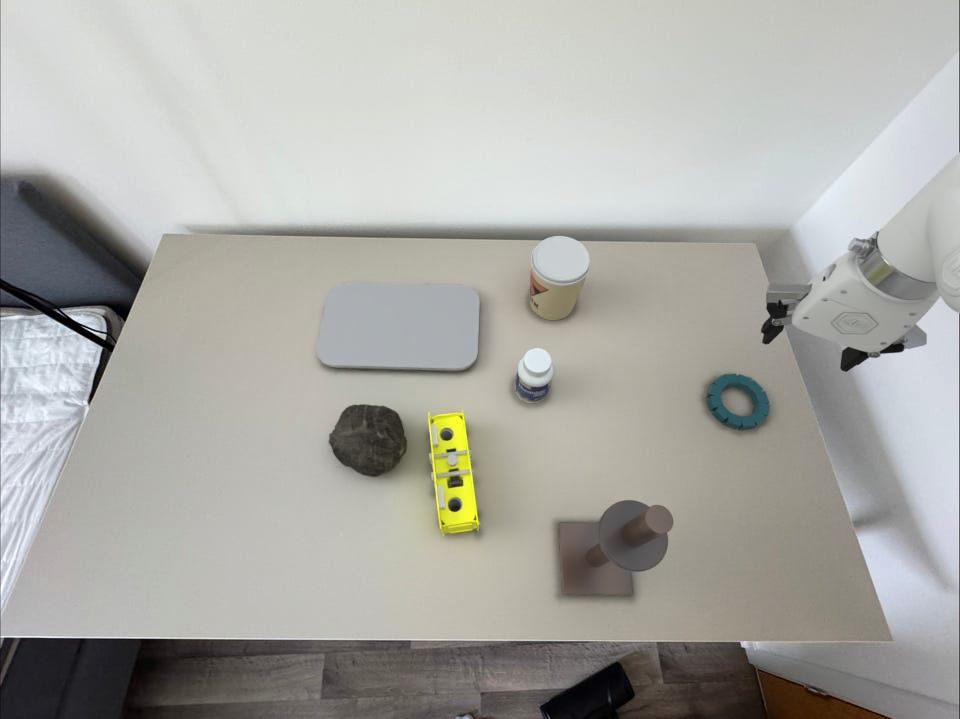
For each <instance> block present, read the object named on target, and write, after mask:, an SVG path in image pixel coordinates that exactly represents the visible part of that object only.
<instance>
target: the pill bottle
mask: <svg viewBox="0 0 960 719" xmlns="http://www.w3.org/2000/svg"><path fill="white" fill-rule="evenodd" d="M552 361H553V360H552V356H551V354H550V353H549V351H547V350H545V349H544V348H541V347H535V348H531V349H529V350H528V351H526V353H525V354H524V356H523V357H521V359H520V360H519V362H518V365H517V370H516V376H515V381H514V391H515V393H516V394H515V395H516V396H517V397H518V398H519V399H520V400H521V401H523V402H525V403H528V404H538V403H541V402H542V401H544V400H545V398H546V397H547V396H548V393H549V391H550V388H551V385H552V381H553V378H554V374H555V366H554V363H553V362H552Z"/></svg>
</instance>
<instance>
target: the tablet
mask: <svg viewBox="0 0 960 719" xmlns="http://www.w3.org/2000/svg"><path fill="white" fill-rule="evenodd" d="M480 302H481V301H480V295H479V293H478V291H477V290H476V289H474V288H473V287H471V286H469V285H466V284H448V283H447V284H444V283H409V282H407V283H406V282H404V283H403V282H368V281H367V282H365V281H364V282H363V281H362V282H361V281H356V282H355V281H345V282H340V283H337V284H336V285H334V286H333V287H332V288H331V289H330V290H329V291H328V293H327V296H326V299H325V305H324V309H323V314H322V319H321V323H320V327H319V329H320V330H319V333H318V337H317V338H318V339H317V342H316V348H315V351H316V352H315V353H316V356H317V358H318V359H319V361H320V362H321V364H323V365H325V366H328V367H331V368H335V369H364V370H366V369H367V370H400V371H402V370H404V371H405V370H406V371H437V372H439V371H440V372H462V371H465V370H467V369H469V368H470V367H472V366H473V365H474V363H476V361H477V358H478V355H479V334H480V333H479V332H480V331H479V330H480V329H479V328H480Z"/></svg>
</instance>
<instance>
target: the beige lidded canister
mask: <svg viewBox="0 0 960 719" xmlns="http://www.w3.org/2000/svg"><path fill="white" fill-rule="evenodd" d="M591 268H592V258H591V255H590V253H589V250H588V248H586V246H585V245H584V244H583V243H581V242H580V241H579V240H577V239H576V238H573V237H570V236H565V235H554V236H550V237H547V238H545V239H543V240H542V241H540V242H539V243H538V244H537V245H535V247H534V248H533V250H532V252H531V255H530V281H529V282H530V283H529V305H530V307H531V309H532V311H533V313H534V314H536V315H537V316H538V317H539V318H542V319H544V320H548V321H558V320H562V319H564V318H566V317H568V316H569V315H570V314H571V313H572V311H573V309H574V307H575V305H576V303H577V301H578V298H579V296H580V293H581V292H582V289H583V286H584V284H585V282H586V278H587V276H588V275H589V273H590V271H591Z"/></svg>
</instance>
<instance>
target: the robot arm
mask: <svg viewBox="0 0 960 719" xmlns="http://www.w3.org/2000/svg"><path fill="white" fill-rule="evenodd" d="M847 251H848V252H846V253H844V254H843V255H842V256H840V257H838V258H837V259H835V260H834V261H833V262H831V263H829V264H828V265H827V266H826V267H824V268H823V269H822V270H821V271H820V272H819V273H817V274H816V275H815V276H813V278H812V279H811V280H809V281H808V283H806V284H775V283H774V284H769V285H768V286H767V289H766V294H765V298H766V299H765V304H766V306H765V307H766V308H765V310H766V311H767V312H768V314H769V317H768V318H767V319H766V320H765V321H764V323H763V324H762V326H761V328H760V333H761V334H763V337H762V341H761V343H762V344H763V345H770V343H772V342H773V341H774V340H775V339H776V338H778V336H779V335H780V334H781V333H782V332H783V331H784V328H785V326H788V325H792V326H794V327H795V328H796V329H797V330H800V331H801V332H804V333H805V334H809V335H812V336H815V337H818V338H820V339H824V340H826V341H830V342H833V343H836V344H838V345H842V346H845V348H844V349H843V350H842V351H841V357H840V366H839V369H840V370H841V371H842V372H845V373H847V372H849V371H850V370H851V369H853V368H855V367H857V366H859V365H861V364H863V363H864V362H865V361H867V360H868V359H869V358H872V359H877V358H880V357H881V355H885V354H887V355H888V354H899V353H903V352H904V351H905V350H906V349H907V350H910V349H915V348H920V347H924V346H926V345H927V344H928V343H927V342H928V334H927V333H926V332H925V331H924V330H923V329H922V328H921V327H920V326H919V325H917V323H919V321H920V320H922V318H923V317H924V316H925V315H927V313H928V312H929V311H930V310H931V308H933V306H934V305H935V304H936V303H937V302H938V300H939V299H940V298H941V299H942V301H943V302H944V303H945V305H946V306H947V307H948V308H950V309H951V310H952V311H954V312H956V313H958V314H960V152H958V153H957V154H956V155H955V156H954V157H952V158H951V159H950V160H949V161H948V163H946V165H944V166H943V167H942V168H941V169H940V170H939V171H938V173H937V174H935V175H934V176H933V177H932V178H931V179H930V180H929V181H928V182H927V183H926V184H925V185H924V186H923V187H922V188H921V189H920V190H919V191H918V192H917V193H916V194H915V195H914V196H913V197H912V198H911V199H910V200H909V201H908V202H907V203H905V205H904V206H903V207H902V208H901V209H900V210H899V211H898V212H897V213H896V214H894V216H892V218H891V219H890V220H889V221H888V222H887V223H886V224H885V225H884V226H882V227H881V229H880V230H876V231H875V232H874V233H873V234H872V235H871V236H870V237H868V238H862V239H861V238H857V237H853V238H852V240H850V242H849V243H848V246H847ZM782 300H787V301H782ZM790 311H793V312H792V313H789V314H788V312H790Z"/></svg>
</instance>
